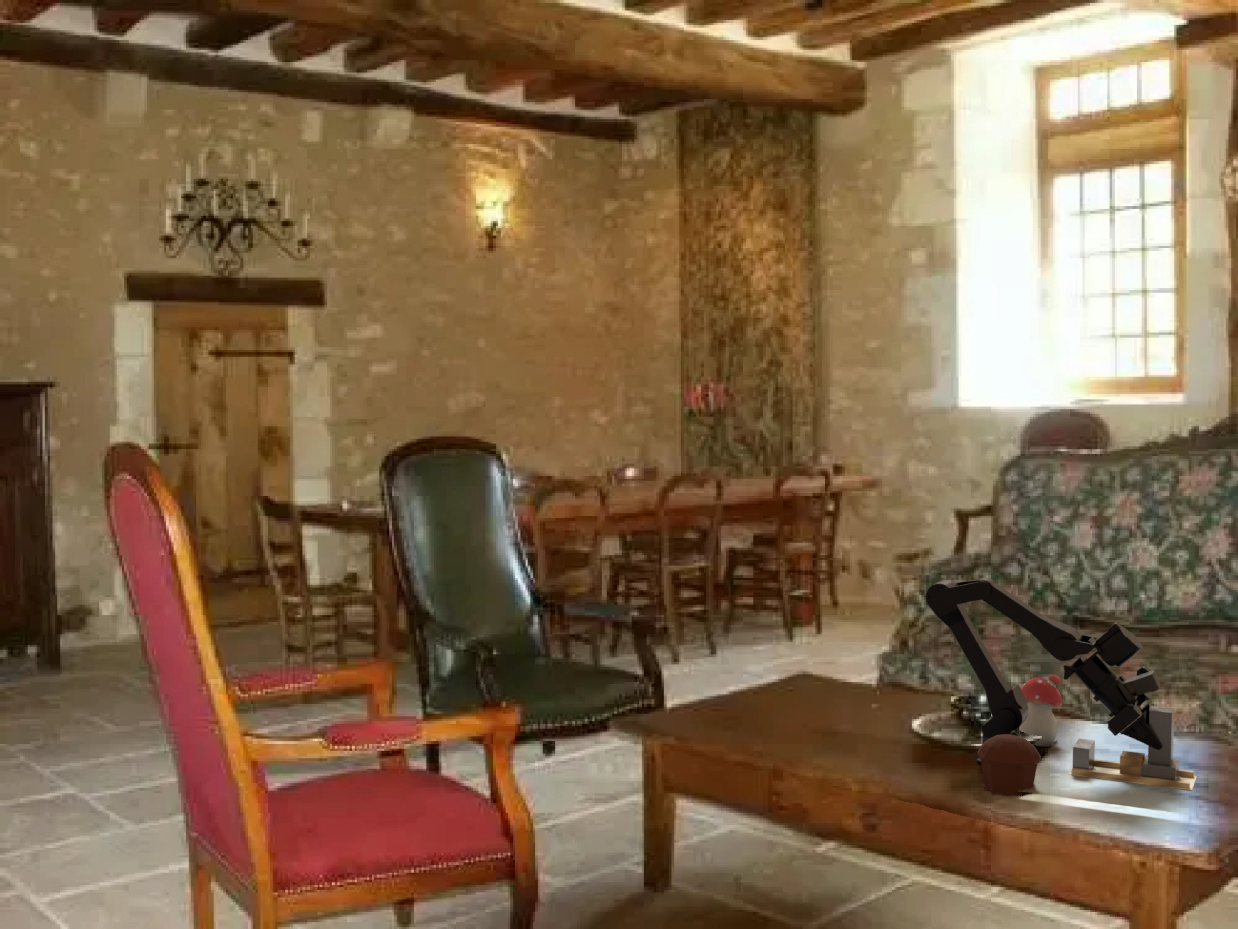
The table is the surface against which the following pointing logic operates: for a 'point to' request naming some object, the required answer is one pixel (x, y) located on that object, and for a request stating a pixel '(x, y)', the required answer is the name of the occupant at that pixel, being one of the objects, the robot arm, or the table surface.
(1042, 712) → the decorative ornament
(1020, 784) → the muffin
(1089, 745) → the block
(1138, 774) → the walnut block
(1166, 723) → the block
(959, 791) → the table surface
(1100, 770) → the wooden tray
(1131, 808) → the table surface
